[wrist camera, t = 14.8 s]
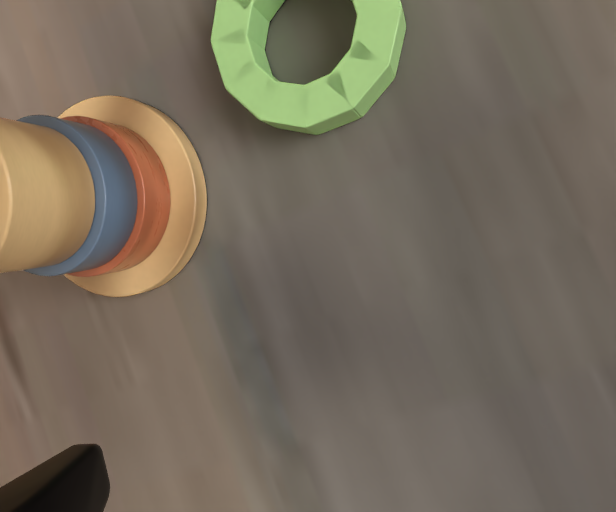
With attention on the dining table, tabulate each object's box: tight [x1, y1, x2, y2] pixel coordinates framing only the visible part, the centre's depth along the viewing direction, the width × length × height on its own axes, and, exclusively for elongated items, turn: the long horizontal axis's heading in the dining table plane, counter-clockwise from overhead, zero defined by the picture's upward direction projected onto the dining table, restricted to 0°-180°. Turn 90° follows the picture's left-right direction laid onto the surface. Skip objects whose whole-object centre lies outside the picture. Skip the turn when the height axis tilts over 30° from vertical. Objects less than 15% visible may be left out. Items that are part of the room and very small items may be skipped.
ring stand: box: [0, 96, 207, 297], centre depth 16 cm, size 9×9×11 cm
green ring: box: [211, 0, 406, 135], centre depth 17 cm, size 7×7×2 cm
